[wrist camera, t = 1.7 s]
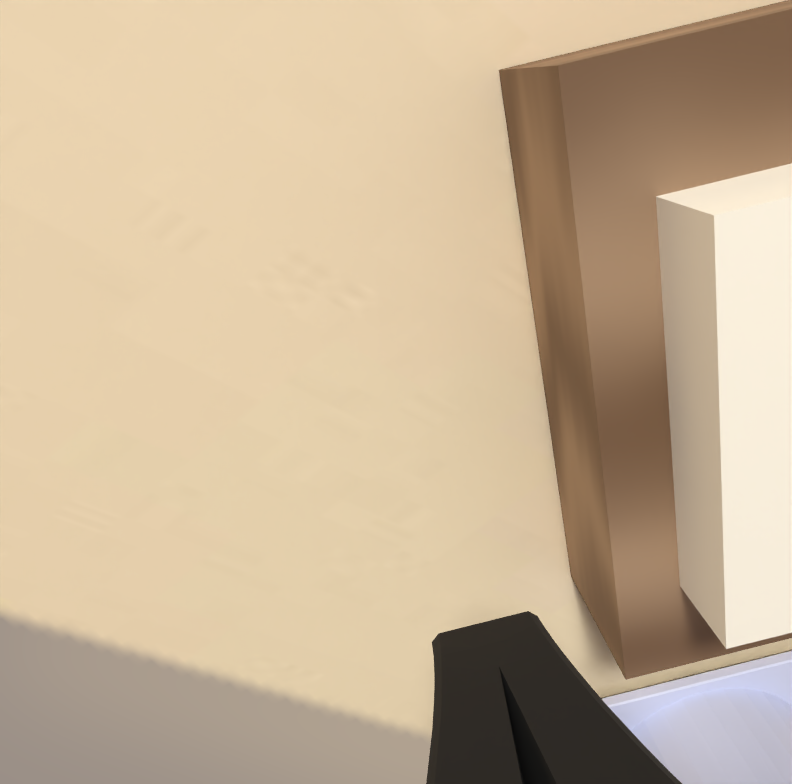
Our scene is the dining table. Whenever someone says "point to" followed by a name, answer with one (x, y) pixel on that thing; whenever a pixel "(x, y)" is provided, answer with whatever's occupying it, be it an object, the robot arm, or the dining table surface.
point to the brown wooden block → (631, 286)
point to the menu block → (731, 397)
